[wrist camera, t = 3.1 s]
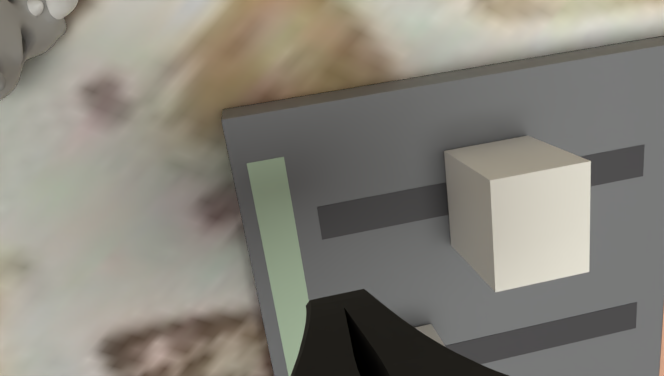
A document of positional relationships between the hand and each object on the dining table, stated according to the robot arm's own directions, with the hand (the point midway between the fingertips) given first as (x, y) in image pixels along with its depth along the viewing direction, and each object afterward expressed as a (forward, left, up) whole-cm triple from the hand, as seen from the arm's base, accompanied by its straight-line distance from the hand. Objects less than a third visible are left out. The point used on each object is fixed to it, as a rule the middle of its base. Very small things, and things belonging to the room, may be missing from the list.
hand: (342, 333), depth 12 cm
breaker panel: (+7, -6, -9) cm, 13 cm away
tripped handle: (+7, 0, -7) cm, 9 cm away
